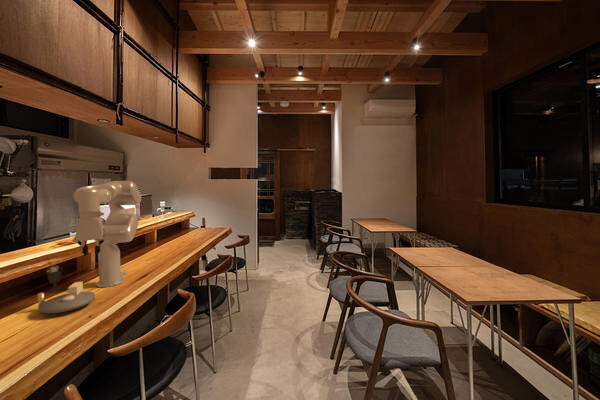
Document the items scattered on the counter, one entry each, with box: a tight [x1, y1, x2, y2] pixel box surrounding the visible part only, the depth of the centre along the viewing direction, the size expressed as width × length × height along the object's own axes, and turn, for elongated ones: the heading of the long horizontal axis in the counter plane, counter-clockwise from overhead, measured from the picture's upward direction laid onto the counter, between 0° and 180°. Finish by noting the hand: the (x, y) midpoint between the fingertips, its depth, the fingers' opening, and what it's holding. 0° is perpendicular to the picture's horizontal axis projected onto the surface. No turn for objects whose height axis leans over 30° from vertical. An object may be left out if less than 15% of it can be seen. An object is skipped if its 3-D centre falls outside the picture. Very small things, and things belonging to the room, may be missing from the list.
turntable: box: [38, 281, 96, 314], centre depth 112 cm, size 20×18×6 cm
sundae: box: [44, 261, 64, 293], centre depth 130 cm, size 7×7×15 cm
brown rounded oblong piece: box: [37, 292, 75, 313], centre depth 112 cm, size 8×15×7 cm, turn 83°
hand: (91, 254), depth 120 cm, fingers open, 3 cm apart
